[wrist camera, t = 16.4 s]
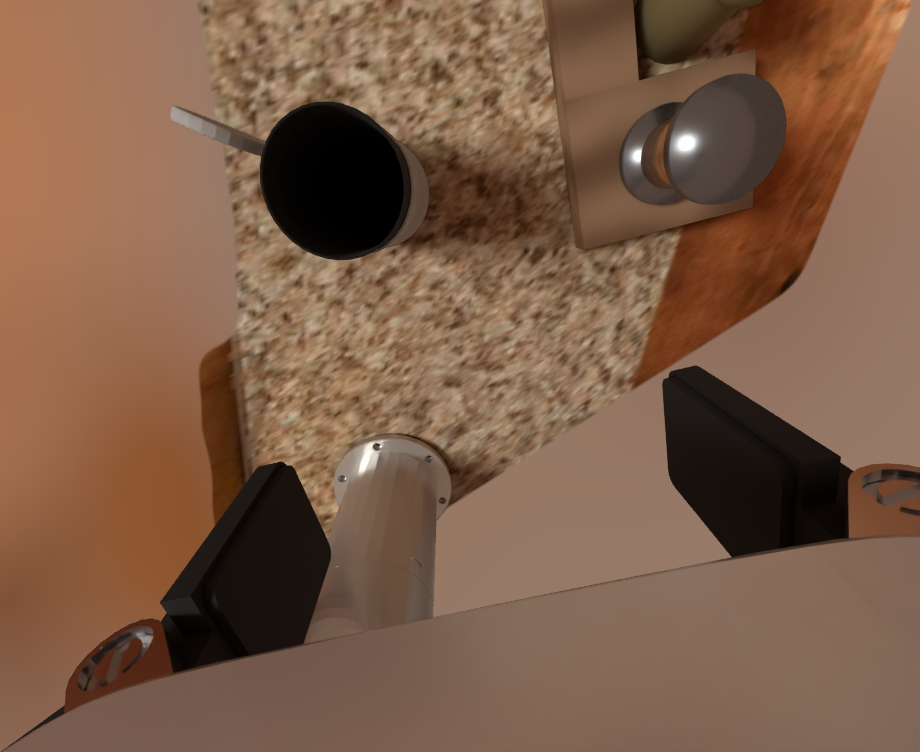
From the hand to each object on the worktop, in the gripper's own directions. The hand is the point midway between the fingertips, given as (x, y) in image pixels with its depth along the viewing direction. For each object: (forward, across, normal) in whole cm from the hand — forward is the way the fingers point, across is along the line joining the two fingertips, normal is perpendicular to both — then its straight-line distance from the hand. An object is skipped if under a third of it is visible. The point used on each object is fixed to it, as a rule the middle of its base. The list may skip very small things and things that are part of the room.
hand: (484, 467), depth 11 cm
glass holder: (+31, +7, -10) cm, 33 cm away
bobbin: (+28, -18, -5) cm, 34 cm away
